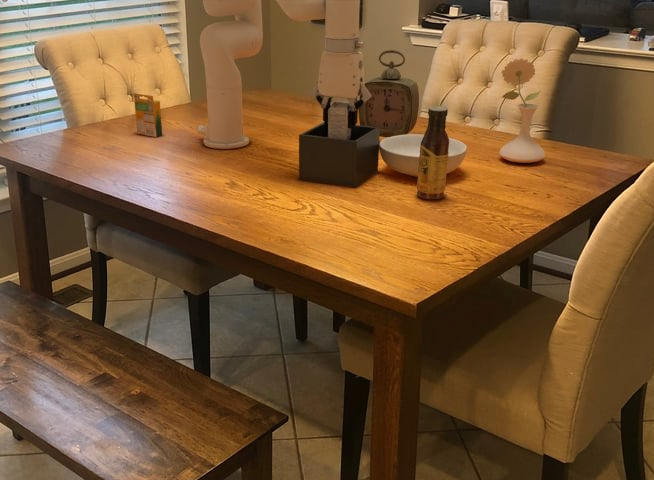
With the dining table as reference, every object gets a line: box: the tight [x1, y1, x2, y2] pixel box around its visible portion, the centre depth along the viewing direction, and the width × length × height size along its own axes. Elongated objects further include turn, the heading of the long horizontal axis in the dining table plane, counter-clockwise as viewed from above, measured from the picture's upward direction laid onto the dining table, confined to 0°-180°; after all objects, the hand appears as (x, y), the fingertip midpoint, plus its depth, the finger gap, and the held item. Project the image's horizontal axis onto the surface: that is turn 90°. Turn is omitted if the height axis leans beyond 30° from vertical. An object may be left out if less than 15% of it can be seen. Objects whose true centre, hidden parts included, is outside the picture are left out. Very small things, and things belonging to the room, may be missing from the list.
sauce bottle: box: [416, 105, 450, 201], centre depth 178 cm, size 7×6×20 cm
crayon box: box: [133, 93, 163, 138], centre depth 231 cm, size 7×3×12 cm, turn 57°
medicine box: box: [328, 100, 351, 140], centre depth 191 cm, size 8×4×9 cm, turn 168°
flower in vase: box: [498, 58, 546, 164], centre depth 202 cm, size 13×11×25 cm
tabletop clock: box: [358, 49, 420, 138], centre depth 216 cm, size 14×9×25 cm, turn 68°
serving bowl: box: [379, 133, 468, 178], centre depth 197 cm, size 21×21×7 cm
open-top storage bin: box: [298, 121, 381, 189], centre depth 195 cm, size 15×15×11 cm
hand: (339, 125), depth 192 cm, fingers closed on medicine box, 5 cm apart
